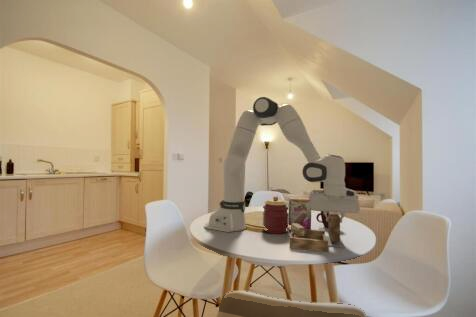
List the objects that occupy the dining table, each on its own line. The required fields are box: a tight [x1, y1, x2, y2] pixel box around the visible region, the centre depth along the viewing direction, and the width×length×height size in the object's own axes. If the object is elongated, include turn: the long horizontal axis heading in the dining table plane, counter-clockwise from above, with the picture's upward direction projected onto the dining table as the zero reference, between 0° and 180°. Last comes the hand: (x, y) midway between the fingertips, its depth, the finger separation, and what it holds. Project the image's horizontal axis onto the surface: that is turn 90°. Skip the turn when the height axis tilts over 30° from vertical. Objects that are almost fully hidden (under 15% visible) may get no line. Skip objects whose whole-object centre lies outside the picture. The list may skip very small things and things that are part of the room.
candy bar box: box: [288, 197, 312, 230], centre depth 118 cm, size 11×5×16 cm, turn 84°
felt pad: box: [325, 235, 346, 249], centre depth 100 cm, size 7×13×1 cm, turn 164°
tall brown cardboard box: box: [327, 212, 341, 242], centre depth 101 cm, size 4×10×10 cm, turn 164°
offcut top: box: [290, 223, 304, 236], centre depth 100 cm, size 3×7×4 cm, turn 11°
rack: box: [289, 229, 329, 253], centre depth 98 cm, size 15×15×4 cm
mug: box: [315, 211, 329, 229], centre depth 124 cm, size 10×8×10 cm
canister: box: [262, 195, 289, 235], centre depth 117 cm, size 13×13×18 cm
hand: (334, 221), depth 101 cm, fingers closed on tall brown cardboard box, 3 cm apart
